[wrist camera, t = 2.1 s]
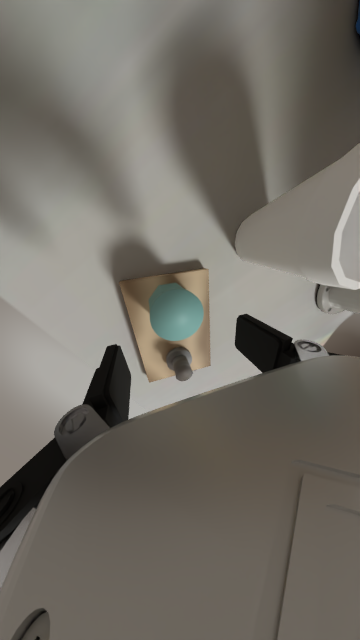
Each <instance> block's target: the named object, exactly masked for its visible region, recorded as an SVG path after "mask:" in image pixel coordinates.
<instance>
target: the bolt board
mask: <svg viewBox="0 0 360 640" xmlns="http://www.w3.org/2000/svg"><path fill="white" fill-rule="evenodd" d="M170 283H177V284H178V285H180V286H181V287H182V288H184V289H186V290H188V291H190V292H191V293H193V294H194V295H195V296H197V297H198V299H199V300H200V301H201V303H202V306H203V310H204V316H203V321H202V323H201V325H200V327H199V329H198V330H197V331H196V332H195V333H194V334H193V335H191V336H190V337H188V338H186V339H183V340H179V341H170V340H166V339H163V338H161V337H160V336H158V335H157V334H156V333H155V332H154V330H153V328H152V326H151V323H150V308H149V298H150V297H151V295H152V294H153V293H154V291H155V290H156V288H157V287H158V285H164V284H170ZM119 284H120V288H121V291H122V294H123V298H124V301H125V304H126V308H127V311H128V314H129V317H130V321H131V324H132V327H133V331H134V334H135V337H136V341H137V344H138V347H139V351H140V354H141V357H142V360H143V364H144V367H145V370H146V374H147V377H148V380H149V382H153V381H157V380H160V379H164V378H167V377H171V376H175V375H176V378H177V379H178V380H179V381H185V380H188V379H189V378H190V377H191V376H192V374H193V372H192V371H193V370H197V369H200V368H204V367H208V366H210V320H209V273H208V269H205V268H203V269H196V270H190V271H183V272H176V273H170V274H163V275H156V276H149V277H143V278H136V279H129V280H123V281H120V282H119Z"/></svg>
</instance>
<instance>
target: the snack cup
mask: <svg viewBox="0 0 360 640" xmlns="http://www.w3.org/2000/svg"><path fill="white" fill-rule="evenodd" d="M356 30H357V32H358V33H359V35H360V0H359V8H358V20H357V23H356Z"/></svg>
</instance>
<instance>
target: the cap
mask: <svg viewBox="0 0 360 640" xmlns="http://www.w3.org/2000/svg"><path fill="white" fill-rule="evenodd" d="M149 308H150V323H151V326H152V328H153V330H154V332H155V333H156V334H157V335H158V336H160V337H161V338H163V339H166V340H170V341H179V340H183V339H186V338H188V337H190V336H191V335H193V334H194V333H195V332H196V331H197V330H198V329H199V327H200V325H201V323H202V321H203V316H204V310H203V306H202V303H201V301H200V300H199V299H198V297H197V296H195V295H194V294H193V293H191V292H190V291H188V290H186V289H184V288H182V287H181V286H180V285H178V284H177V283H170V284H164V285H158V287H157V288H156V290H155V291H154V293H153V294H152V295H151V297H150V298H149Z"/></svg>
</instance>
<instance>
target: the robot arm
mask: <svg viewBox="0 0 360 640" xmlns="http://www.w3.org/2000/svg"><path fill="white" fill-rule="evenodd" d="M317 304H318V307H319V309H320V310H321V311H323V312H325V313H329V314H337V313H340V312H342V311H345V310H347V311H351V312H355V313H358V314H360V289H357V290H353V289H346V288H340V287H333V286H327V285H321V284H320V287H319V290H318V294H317ZM292 339H293V338H291V337H289V336H287V335H286V334H284V333H282V332H280V331H278V330H276V329H274V328H272V327H270V326H269V325H267V324H265V323H263V322H261V321H259V320H257V319H255V318H253V317H252V316H250V315H248V314H243V315H239V317H238V318H237V323H236V336H235V346H236V348H237V349H238V350H239V351H240V352H241V353H242V354H243V355H244V356H245V357H246V358H248V359H249V360H250V361H251V362H252V363H253V364H254V365H255V366H256V367H257V368H258V369H259V370H260V371H261V372H262V374H259V375H256V376H253V377H250V378H247V379H244V380H241V381H238V382H235V383H232V384H229V385H226V386H223V387H220V388H217V389H214V390H211V391H208V392H205V393H202V394H199V395H196V396H193V397H190V398H187V399H184V400H181V401H178V402H175V403H173V404H170V405H167V406H164V407H161V408H158V409H156V410H153V411H150V412H147V413H144V414H142V415H139V416H136V417H134V418H131V419H129V420H128V415H129V400H130V386H131V374H130V371H129V368H128V365H127V363H126V360H125V357H124V355H123V352H122V349H121V347H120V346H117V345H116V344H115V345H111V346H107V348H106V351H105V354H104V356H103V359H102V362H101V365H100V367H99V368H97V369H96V371H95V373H94V376H93V378H92V381H91V384H90V386H89V389H88V391H87V394H86V397H85V399H84V402H83V404H82V405H79V406H77V407H75V408H73V409H71V410H70V411H69V412H67V414H65V415H64V416H63V417H62V418H61V419H60V421H59V422H58V424H57V425H56V427H55V431H54V435H55V438H54V439H53V440H52V441H50V442H49V443H48V444H47V445H46V446H45V447H44V448H43V449H42V450H41V451H39V452H38V453H37V454H36V455H35V456H34V457H33V458H32V459H31V460H30V461H29V462H27V463H26V464H25V465H24V466H23V467H22V468H21V469H20V470H19V471H18V472H16V473H15V474H14V475H13V476H12V477H11V478H10V479H9V480H8V481H7V482H5V483H4V484H3V485H2V486H1V487H0V640H360V358H359V357H353V356H345V355H339V354H334V353H328V352H326V350H325V349H324V348H323V346H321V345H320V344H318V343H315V342H312V341H308V340H297V341H295V342H294V344H293V343H291V342H292Z"/></svg>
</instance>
